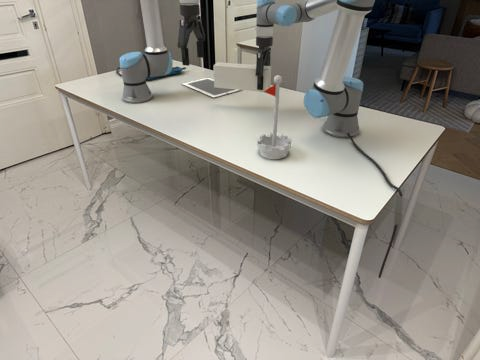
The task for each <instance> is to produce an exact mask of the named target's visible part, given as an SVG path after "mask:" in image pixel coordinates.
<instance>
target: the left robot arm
mask: <svg viewBox="0 0 480 360" xmlns="http://www.w3.org/2000/svg"><path fill="white" fill-rule="evenodd" d="M139 2H140V8H141V16H142V20H143V21H142V22H143V28H144V36H145V42H146V47H145V49H144V53H142V52H141V51H131V52H127V53H125V54H122V55H121V56H120V57H119V66H118V67H116V71H115V72H116V74H117V75H118V76H119V77H122V82H123V90H122V100H123V101H124V102H125V103H128V104H140V103H145V102H148V101H150V100H151V99H153V95H152V92H151V90H150V88H149V85H148V84H147V79H146V78H147V77H154V76H160V75H162V76H161V77H164V76H163V75H166V74H169V73H170V72H171V70H172V67H173V66H174V65H173V64H174V62H173V57H172V53H171V52H170V51H168V48H167V47H166V46H165V45H164V37H163V29H162V21H161V20H162V19H161V13H160V12H161V11H160V4H159V0H139ZM178 2H179V14H180V16H181V17H183V19H179V30H178V36H177V37H178V39H177V44H176V45H177V48H178V49H180V50H181V51H180V52H181V62H182V66H190V53H189V48H188V45H189V40H190V37H191V33H193V34H194V36H195V38H196V41H195V42H196V56H197V58H201V59H203V58H205V51H204V42H205V41H206V33H205V29H204V27H203V23H202V17H201V15H200V14H201V9H200V8H201V7H200V0H178ZM119 70H120V72H121V73H120V72H118V71H119ZM166 76H167V75H166Z"/></svg>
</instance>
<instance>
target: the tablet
mask: <svg viewBox="0 0 480 360" xmlns="http://www.w3.org/2000/svg"><path fill="white" fill-rule="evenodd" d="M181 85H182V86H185V87H187V88H189V89H192V90H194V91H195V92H198V93H201V94H203V95H205V96H207V97H211V98H212V99H216V98H219V97H222V96H226V95H230V94H234V93H236V92H237V93H238V92H240V91H242V90H237V89H226V88H216V87H214V78H212V77H204V78H200V79H197V80H192V81H188V82H184V83H181Z"/></svg>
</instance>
